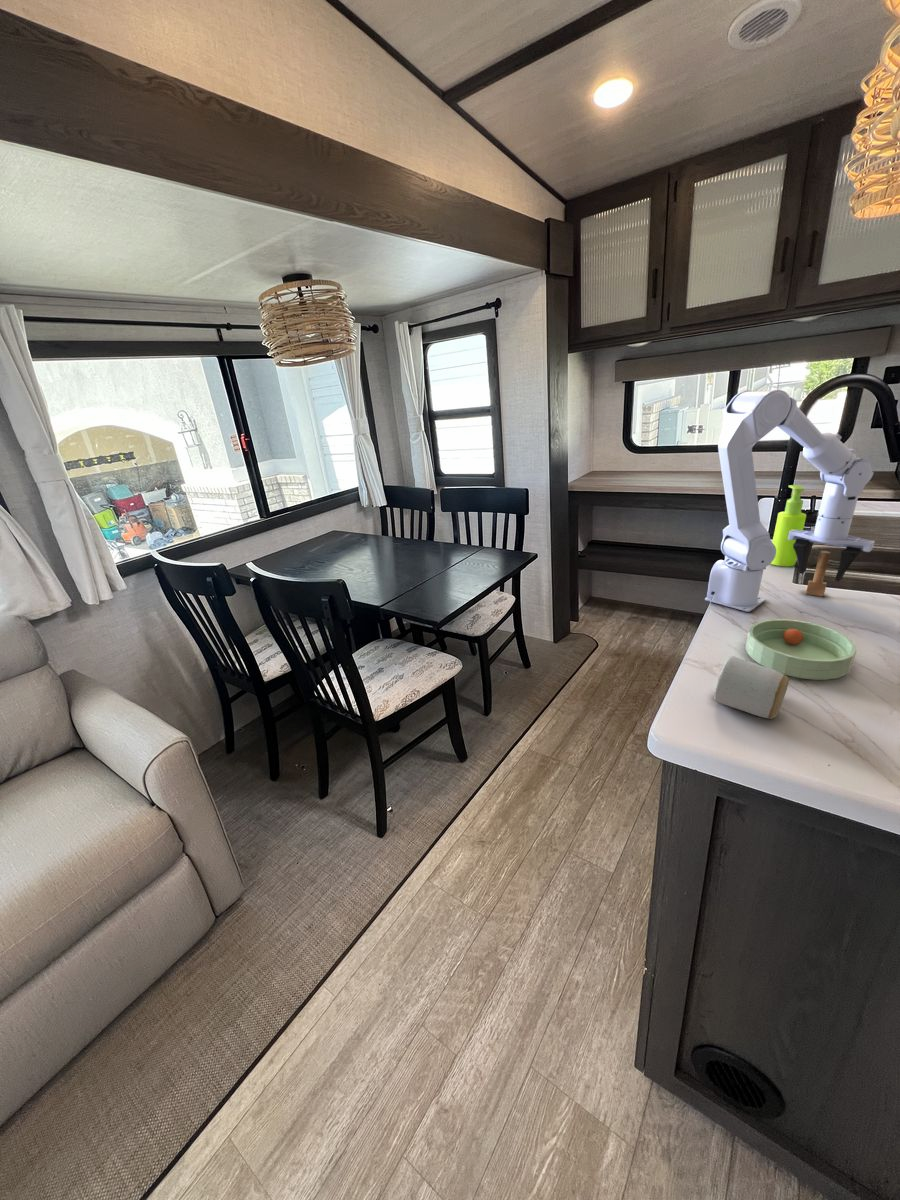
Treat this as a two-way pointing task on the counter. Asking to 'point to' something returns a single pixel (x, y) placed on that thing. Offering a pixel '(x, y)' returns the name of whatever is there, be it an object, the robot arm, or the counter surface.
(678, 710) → the counter surface
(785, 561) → the soap dispenser
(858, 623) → the counter surface
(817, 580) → the brown handled stamp
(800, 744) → the counter surface
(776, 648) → the bowl
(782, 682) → the ceramic mug
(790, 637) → the ball
